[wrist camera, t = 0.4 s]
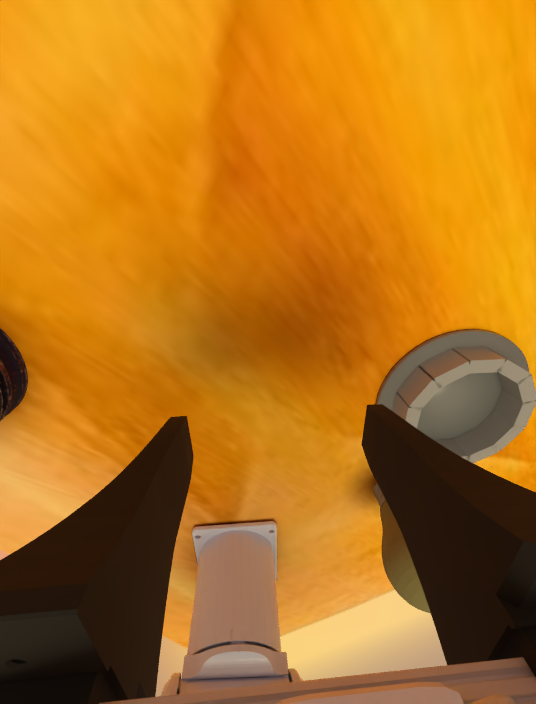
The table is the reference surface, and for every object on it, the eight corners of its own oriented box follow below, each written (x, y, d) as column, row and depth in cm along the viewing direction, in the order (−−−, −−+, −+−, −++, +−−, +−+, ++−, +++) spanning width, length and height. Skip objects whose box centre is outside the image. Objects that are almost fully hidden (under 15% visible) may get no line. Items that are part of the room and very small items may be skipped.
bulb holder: (496, 450, 28) (518, 472, 26) (366, 458, 27) (377, 481, 25) (547, 326, 23) (580, 339, 20) (387, 332, 22) (403, 347, 20)
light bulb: (397, 505, 30) (462, 633, 21) (345, 499, 29) (389, 629, 20) (423, 463, 28) (508, 587, 19) (367, 455, 27) (428, 580, 18)
